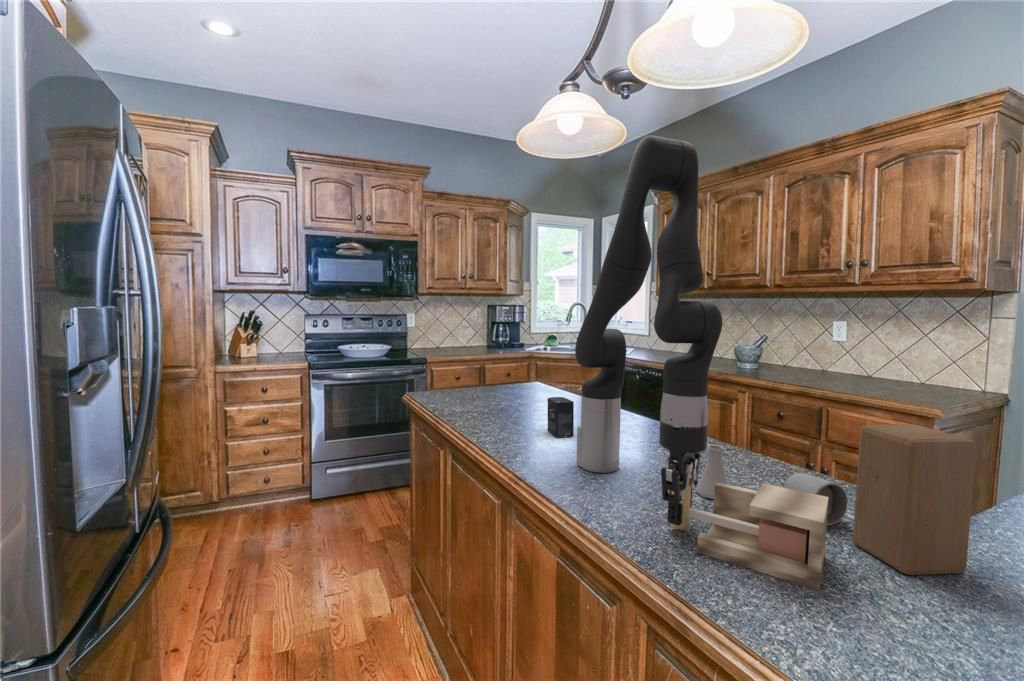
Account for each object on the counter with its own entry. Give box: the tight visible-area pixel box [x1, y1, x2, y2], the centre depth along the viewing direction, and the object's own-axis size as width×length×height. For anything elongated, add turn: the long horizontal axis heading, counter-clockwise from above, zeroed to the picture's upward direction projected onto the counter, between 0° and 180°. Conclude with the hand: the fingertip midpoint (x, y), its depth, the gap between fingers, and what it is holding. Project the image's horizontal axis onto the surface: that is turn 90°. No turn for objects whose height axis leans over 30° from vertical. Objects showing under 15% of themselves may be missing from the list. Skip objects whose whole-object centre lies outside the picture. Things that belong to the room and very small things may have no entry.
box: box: [547, 396, 575, 438], centre depth 141 cm, size 8×6×11 cm
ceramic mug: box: [782, 472, 848, 527], centre depth 86 cm, size 11×8×8 cm
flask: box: [694, 444, 730, 500], centre depth 96 cm, size 7×7×10 cm
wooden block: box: [852, 423, 977, 576], centre depth 71 cm, size 10×10×20 cm
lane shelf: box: [696, 482, 828, 591], centre depth 72 cm, size 16×11×10 cm
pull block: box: [669, 482, 810, 564], centre depth 74 cm, size 20×6×7 cm, turn 53°
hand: (679, 517), depth 80 cm, fingers open, 4 cm apart
